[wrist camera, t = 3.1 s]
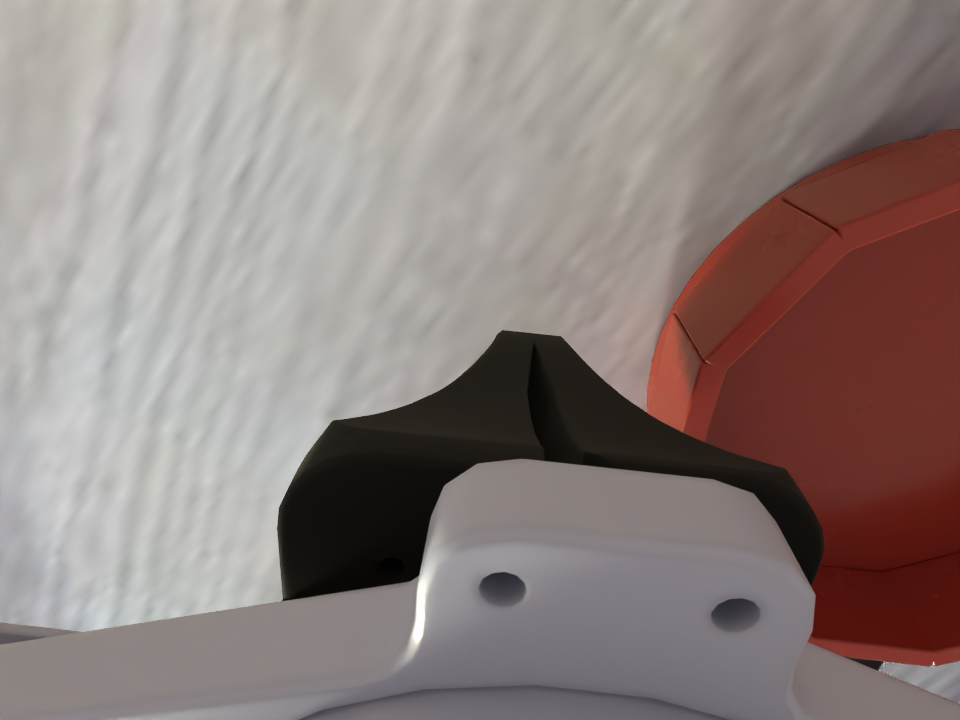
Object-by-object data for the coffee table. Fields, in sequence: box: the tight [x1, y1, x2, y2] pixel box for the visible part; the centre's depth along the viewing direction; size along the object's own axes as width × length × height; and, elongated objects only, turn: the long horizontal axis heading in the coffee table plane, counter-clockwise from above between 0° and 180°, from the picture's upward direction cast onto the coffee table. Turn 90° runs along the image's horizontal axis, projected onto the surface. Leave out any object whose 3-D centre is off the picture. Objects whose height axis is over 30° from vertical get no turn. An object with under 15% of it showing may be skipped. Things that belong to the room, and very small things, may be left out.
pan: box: [647, 129, 960, 671], centre depth 14 cm, size 17×11×3 cm, turn 175°
